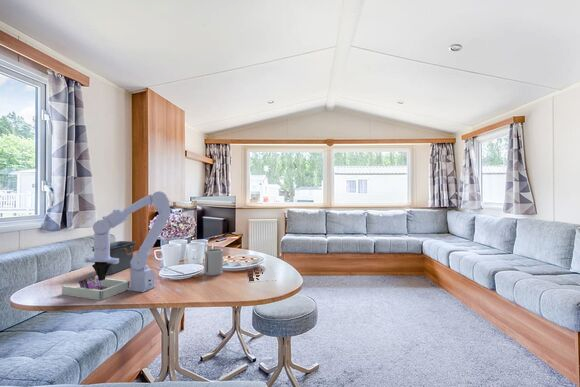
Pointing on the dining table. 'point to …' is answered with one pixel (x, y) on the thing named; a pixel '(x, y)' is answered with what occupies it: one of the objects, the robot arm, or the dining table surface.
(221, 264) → the cup
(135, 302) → the dining table surface
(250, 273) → the chocolate bar
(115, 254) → the storage bin
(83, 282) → the game card
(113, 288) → the open box
